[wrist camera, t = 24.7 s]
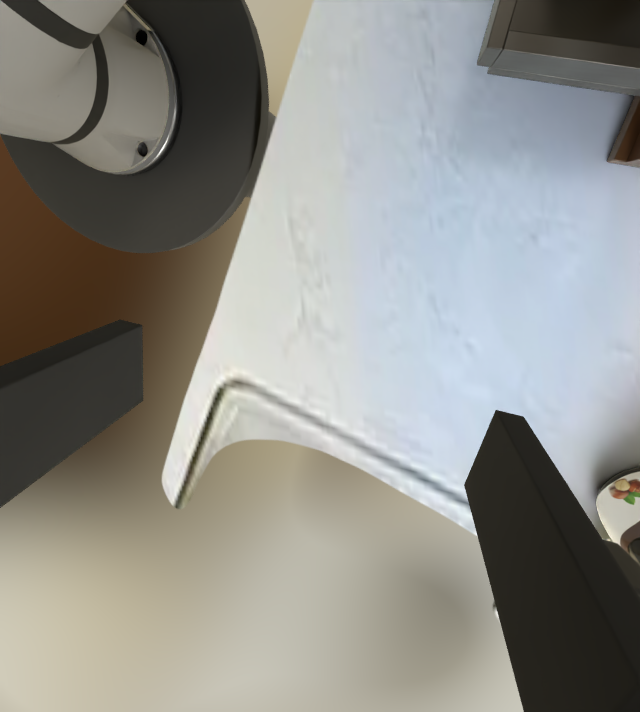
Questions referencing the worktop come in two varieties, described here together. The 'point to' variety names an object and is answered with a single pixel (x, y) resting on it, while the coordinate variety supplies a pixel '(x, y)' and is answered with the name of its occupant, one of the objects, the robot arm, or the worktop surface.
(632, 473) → the spread jar
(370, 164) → the worktop surface
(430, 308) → the worktop surface
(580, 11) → the door rack
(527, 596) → the robot arm
